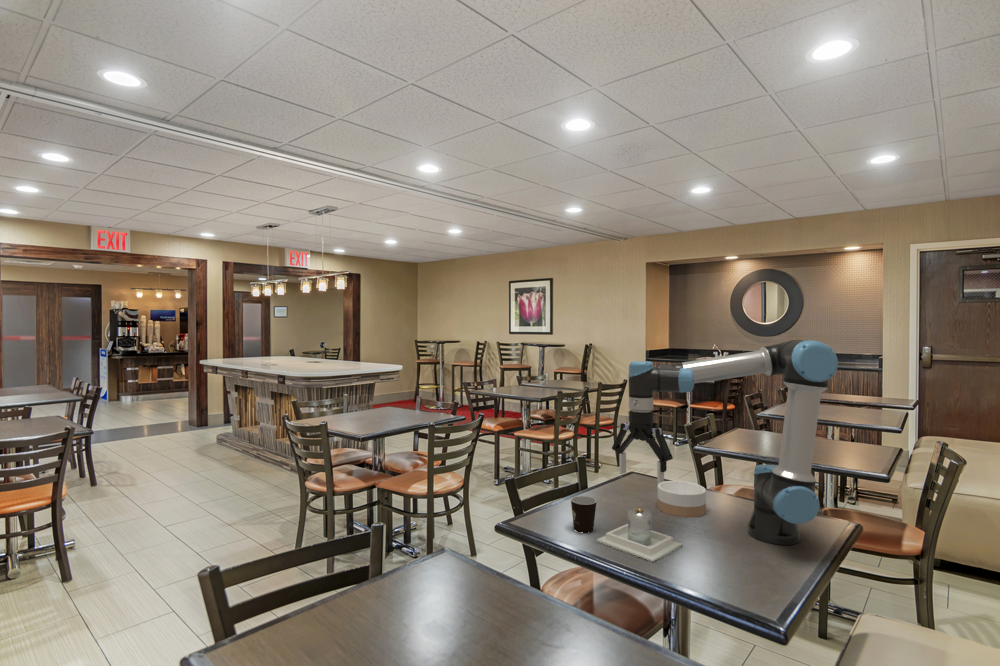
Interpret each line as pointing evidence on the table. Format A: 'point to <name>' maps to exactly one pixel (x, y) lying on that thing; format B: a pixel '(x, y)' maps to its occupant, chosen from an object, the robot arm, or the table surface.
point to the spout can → (639, 525)
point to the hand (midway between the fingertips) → (641, 477)
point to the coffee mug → (583, 513)
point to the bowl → (681, 498)
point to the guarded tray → (652, 552)
